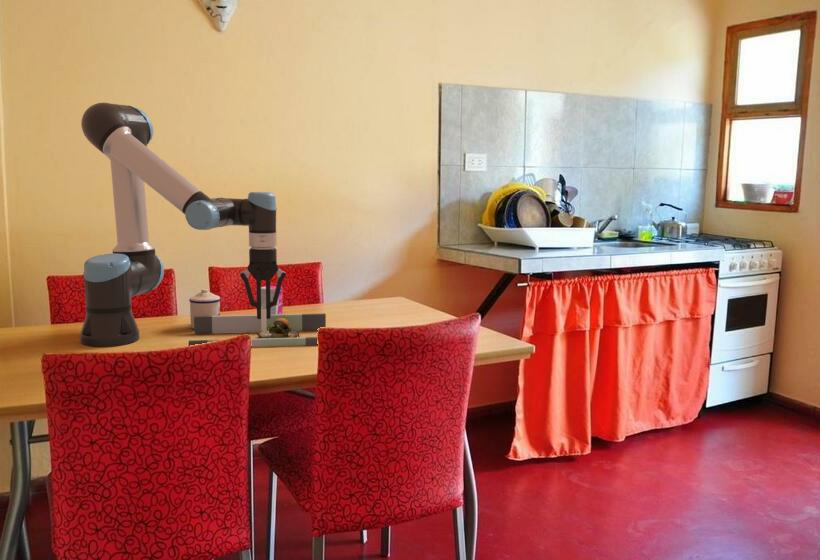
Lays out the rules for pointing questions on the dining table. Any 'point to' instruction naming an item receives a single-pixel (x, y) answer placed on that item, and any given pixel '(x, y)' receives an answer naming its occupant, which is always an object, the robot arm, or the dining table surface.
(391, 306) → the dining table surface
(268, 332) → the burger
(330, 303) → the dining table surface
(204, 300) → the teacup with lid
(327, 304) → the dining table surface
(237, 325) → the trap lane
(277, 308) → the supplement box
